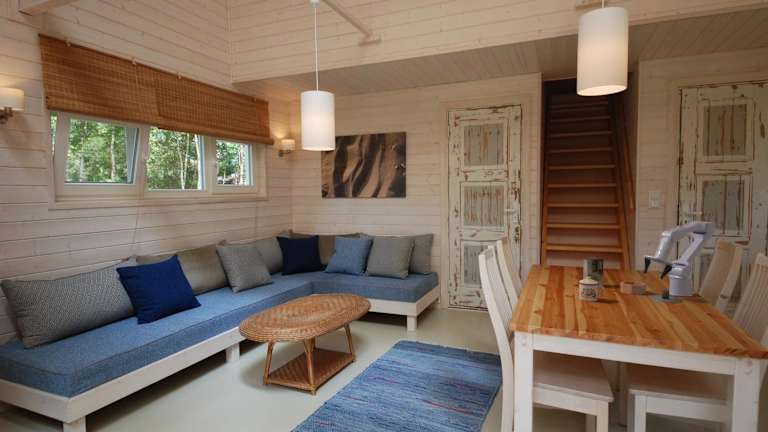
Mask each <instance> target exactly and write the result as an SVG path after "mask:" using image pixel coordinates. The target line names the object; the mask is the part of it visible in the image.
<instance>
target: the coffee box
mask: <svg viewBox="0 0 768 432" xmlns="http://www.w3.org/2000/svg"><path fill="white" fill-rule="evenodd" d="M582 264H583V266H582V267H583V272H582V273H583V276H582V277H583V278H582V280H583V279H586V278H587V277H591V279H593V280H594V281H597V282H598V283H599V284H598V286H602V287H604V259H603V258H601V257H596V256H595V257H593V256H592V257H583V263H582Z"/></svg>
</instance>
